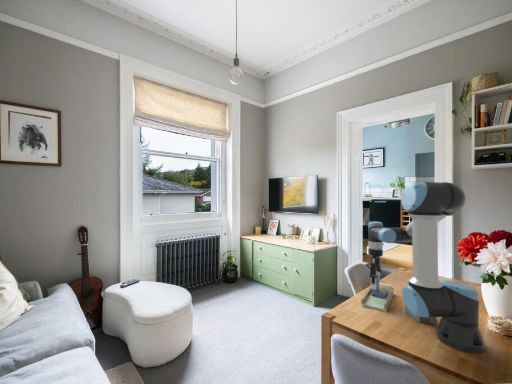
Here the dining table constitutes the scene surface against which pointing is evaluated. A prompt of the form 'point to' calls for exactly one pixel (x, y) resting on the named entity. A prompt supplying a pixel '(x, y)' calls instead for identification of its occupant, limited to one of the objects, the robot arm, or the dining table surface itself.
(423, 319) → the digital clock
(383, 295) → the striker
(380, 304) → the pitch
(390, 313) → the dining table surface
